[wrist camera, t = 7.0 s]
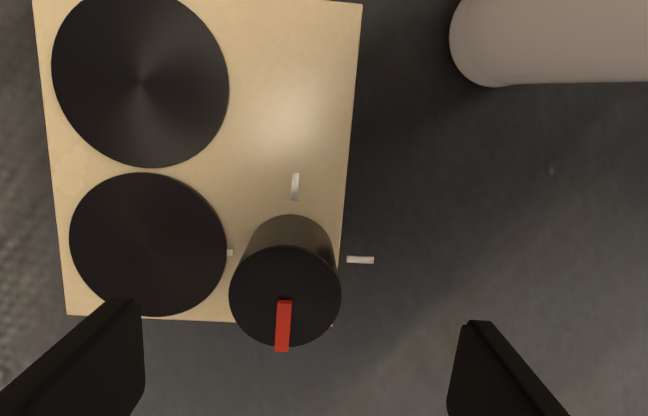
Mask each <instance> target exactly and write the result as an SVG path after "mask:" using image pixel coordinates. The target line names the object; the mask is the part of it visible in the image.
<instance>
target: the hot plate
mask: <svg viewBox="0 0 648 416" xmlns="http://www.w3.org/2000/svg"><path fill="white" fill-rule="evenodd" d="M81 1H82V0H32V6H33V15H34V24H35V33H36V42H37V51H38V60H39V69H40V78H41V87H42V96H43V105H44V114H45V123H46V132H47V141H48V150H49V159H50V168H51V177H52V186H53V195H54V204H55V213H56V222H57V231H58V240H59V249H60V258H61V267H62V276H63V285H64V294H65V303H66V312H67V315H83V316H89V315H90V314H91V313H92V312H93V311H94V310H96V309H97V308H98V307H99V306H100V305H101V304H102V303H104V302H105V301H104V300H102V299H101V298H100V297H98V296H97V295H96V294H95V293H94V292H93V291H92V290H91V289H90V288H89V287H88V286H87V285H86V283H85V282H84V281H83V279H82V278H81V276H80V275H79V273H78V271H77V269H76V267H75V265H74V263H73V260H72V257H71V253H70V248H69V227H70V222H71V219H72V215H73V213H74V211H75V209H76V207H77V205H78V204H79V202H80V201H81V199H82V198H83V197H84V196H85V195H86V194H87V192H88V191H90V190H91V189H92V188H93V187H95V186H96V185H97V184H99V183H101V182H102V181H104V180H106V179H109V178H111V177H114V176H117V175H121V174H125V173H131V172H152V173H159V174H163V175H167V176H170V177H173V178H175V179H178V180H180V181H182V182H184V183H185V184H187V185H189V186H190V187H192V188H193V189H195V190H196V191H197V192H199V193H200V194H201V195H202V196H203V197H204V198H205V199H206V200H207V201H208V202H209V203H210V205H211V206H212V207H213V209H214V210H215V212H216V213H217V215H218V216H219V218H220V220H221V222H222V225H223V228H224V231H225V234H226V239H227V262H226V267H225V270H224V273H223V275H222V278H221V280H220V281H219V283H218V285H217V287H216V288H215V289H214V291H213V292H212V293H211V294H210V295H209V296H208V297H207V298H206V299H205V300H204V301H203V302H201V303H200V304H199V305H197V306H196V307H194V308H192V309H190V310H188V311H185V312H183V313H180V314H176V315H172V316H166V317H145V316H142V318H149V319H172V320H194V321H216V322H236V321H235V319H234V317H233V315H232V313H231V310H230V307H229V301H228V291H229V285H230V281H231V279H232V276H233V274H234V272H235V270H236V268H237V266H238V264H239V262H240V260H241V257H242V255H243V253H244V251H245V249H246V247H247V245H248V243H249V241H250V239H251V237H252V235H253V233H254V232H255V231H256V229H257V228H258V227H259V226H260V225H261V224H263V223H264V222H265V221H267V220H269V219H271V218H273V217H276V216H280V215H286V214H295V215H301V216H305V217H307V218H310V219H311V220H313V221H315V222H316V223H318V224H319V225H320V226H321V227H322V228H323V229H324V230H325V231H326V233H327V234H328V236H329V238H330V240H331V242H332V246H333V251H334V256H335V261H336V266H337V271H338V261H339V250H340V240H341V229H342V219H343V208H344V198H345V188H346V177H347V167H348V156H349V146H350V135H351V125H352V115H353V104H354V94H355V83H356V73H357V62H358V52H359V42H360V31H361V21H362V10H363V5H362V4H357V3H347V2H337V1H328V0H178V1H180V2H181V3H183V4H184V5H185V6H187V7H188V8H189V9H190V10H192V11H193V12H194V13H195V14H196V15H197V16H198V17H199V18H200V19H201V20H202V21H203V22H204V23H205V24H206V26H207V27H208V28H209V30H210V31H211V32H212V34H213V35H214V37H215V39H216V41H217V42H218V44H219V46H220V48H221V51H222V53H223V55H224V58H225V62H226V65H227V69H228V75H229V85H230V94H229V104H228V109H227V113H226V116H225V119H224V122H223V124H222V126H221V128H220V130H219V132H218V133H217V135H216V136H215V138H214V139H213V140H212V142H211V143H210V144H209V145H208V146H207V147H206V148H205V149H204V150H202V151H201V152H200V153H199V154H197V155H196V156H194V157H192V158H191V159H189V160H187V161H184V162H182V163H180V164H177V165H173V166H169V167H163V168H139V167H133V166H129V165H125V164H122V163H120V162H117V161H115V160H112V159H110V158H108V157H107V156H105V155H103V154H101V153H100V152H98V151H97V150H95V149H94V148H93V147H91V146H90V145H89V144H88V143H87V142H86V141H84V140H83V139H82V138H81V136H80V135H79V134H78V133H77V132H76V131H75V130H74V128H73V127H72V126H71V124H70V123H69V122H68V120H67V118H66V117H65V115H64V113H63V111H62V110H61V107H60V105H59V103H58V100H57V98H56V94H55V91H54V87H53V82H52V76H51V56H52V48H53V44H54V40H55V37H56V35H57V32H58V29H59V27H60V26H61V24H62V22H63V20H64V19H65V17H66V16H67V15H68V14H69V12H70V11H71V10H72V9H73V8H74V7H75V6H76V5H77V4H78V3H79V2H81ZM346 262H350V263H368V264H373V262H374V257H373V256H357V255H347V260H346ZM331 326H332V325H331ZM331 326H330V327H331Z"/></svg>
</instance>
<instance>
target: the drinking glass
mask: <svg viewBox="0 0 648 416" xmlns="http://www.w3.org/2000/svg"><path fill="white" fill-rule="evenodd" d="M449 47H450V52H451V56H452V58H453V61H454V63H455V65H456V66H457V68H458V69H459V71H460V72H461V73H462V74H463V75H464V76H465V77H466V78H467V79H469V80H470V81H472V82H474V83H476V84H478V85H481V86H485V87H494V88H495V87H506V86H512V85H521V84H555V83H609V82H648V0H461V1H460V3H459V5H458V6H457V8H456V10H455V12H454V15H453V17H452V21H451V24H450V30H449Z"/></svg>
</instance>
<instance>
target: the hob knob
mask: <svg viewBox="0 0 648 416" xmlns="http://www.w3.org/2000/svg"><path fill="white" fill-rule="evenodd" d="M228 301H229V307H230V310H231V313H232V315H233V317H234V319H235V321H236V322H237V324H238V325H239V327H240V328H241V329H242V330H243V331H244V332H245V333H246V334H248V335H249V336H250V337H252V338H253V339H255V340H257V341H259V342H261V343H264V344H266V345H270V346H275V347H274V351H282V352H288V351H289V347H295V346H300V345H303V344H306V343H309V342H311V341H313V340H315V339H317V338H318V337H320V336H321V335H322V334H323V333H324V332H326V331H327V330H328V328H329V327H330V326H331V325H332V323H333V322H334V320H335V319H336V317H337V315H338V312H339V309H340V305H341V287H340V282H339V277H338V271H337V266H336V261H335V256H334V251H333V246H332V242H331V240H330V238H329V236H328V234H327V233H326V231H325V230H324V229H323V228H322V227H321V226H320V225H319V224H318V223H316V222H315V221H313V220H311V219H310V218H307V217H305V216H301V215H295V214H286V215H280V216H276V217H273V218H271V219H269V220H267V221H265V222H264V223H263V224H261V225H260V226H259V227H258V228H257V229H256V231H255V232H254V233H253V235H252V237H251V239H250V241H249V243H248V245H247V247H246V249H245V251H244V253H243V255H242V257H241V260H240V262H239V264H238V266H237V268H236V270H235V272H234V274H233V276H232V279H231V281H230V285H229V291H228Z"/></svg>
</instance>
